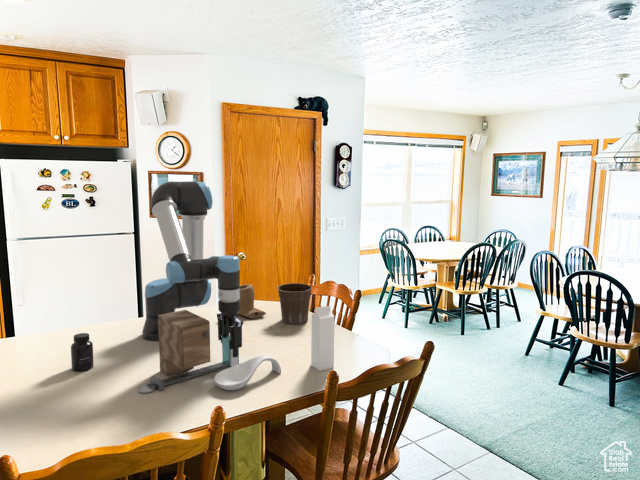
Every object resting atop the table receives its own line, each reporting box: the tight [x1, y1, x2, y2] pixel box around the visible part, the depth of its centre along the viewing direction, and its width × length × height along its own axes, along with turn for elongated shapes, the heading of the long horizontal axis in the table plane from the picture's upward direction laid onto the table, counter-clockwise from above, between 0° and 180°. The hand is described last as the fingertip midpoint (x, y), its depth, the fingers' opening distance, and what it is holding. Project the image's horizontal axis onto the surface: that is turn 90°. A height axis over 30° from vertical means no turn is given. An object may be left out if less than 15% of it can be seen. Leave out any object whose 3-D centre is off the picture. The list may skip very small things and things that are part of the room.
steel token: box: [137, 383, 156, 395], centre depth 145 cm, size 5×5×1 cm
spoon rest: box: [213, 354, 282, 391], centre depth 152 cm, size 24×12×7 cm, turn 132°
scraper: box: [149, 334, 240, 391], centre depth 156 cm, size 7×30×10 cm, turn 133°
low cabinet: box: [158, 309, 211, 377], centre depth 154 cm, size 19×10×20 cm, turn 43°
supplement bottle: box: [70, 332, 95, 373], centre depth 160 cm, size 7×7×12 cm
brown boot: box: [237, 283, 266, 319], centre depth 223 cm, size 15×12×15 cm
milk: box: [310, 305, 335, 372], centre depth 163 cm, size 6×6×22 cm
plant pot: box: [276, 282, 313, 325], centre depth 215 cm, size 16×16×16 cm
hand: (230, 362), depth 165 cm, fingers closed on scraper, 4 cm apart
